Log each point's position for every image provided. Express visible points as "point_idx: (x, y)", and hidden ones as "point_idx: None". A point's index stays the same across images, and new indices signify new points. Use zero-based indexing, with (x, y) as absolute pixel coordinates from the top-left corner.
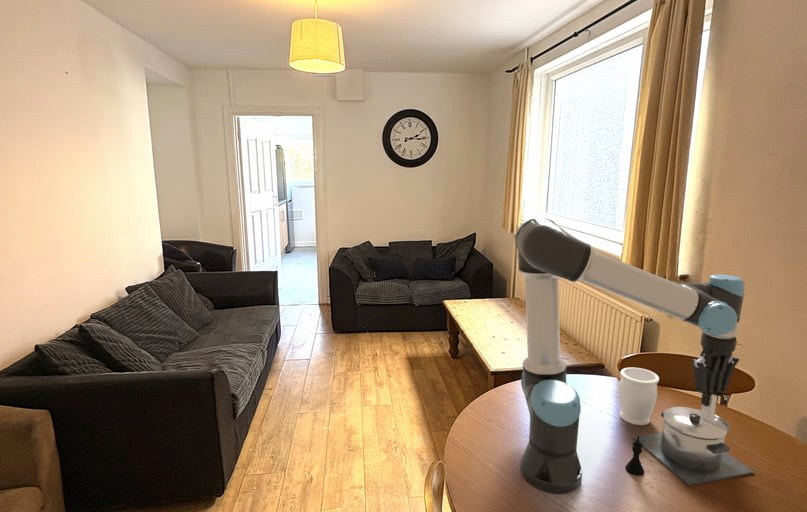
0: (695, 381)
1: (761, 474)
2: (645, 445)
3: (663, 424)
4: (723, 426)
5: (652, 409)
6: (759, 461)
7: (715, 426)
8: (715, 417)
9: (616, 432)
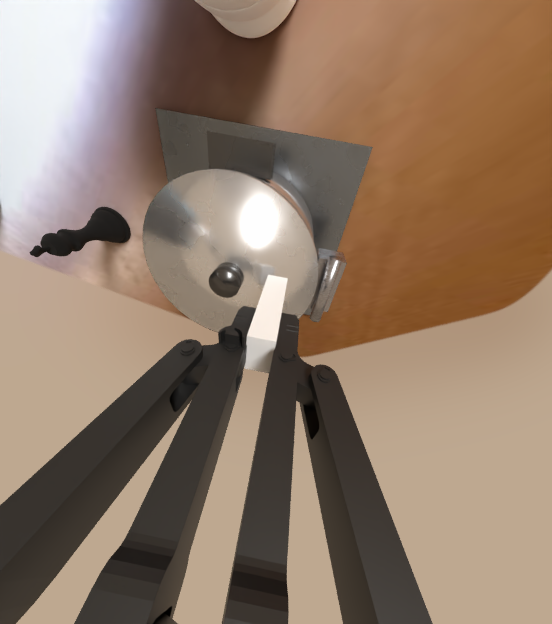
0: (128, 390)
1: (323, 318)
2: (171, 167)
3: None
4: None
5: (260, 6)
6: (362, 302)
7: None
8: (313, 290)
9: (120, 38)
